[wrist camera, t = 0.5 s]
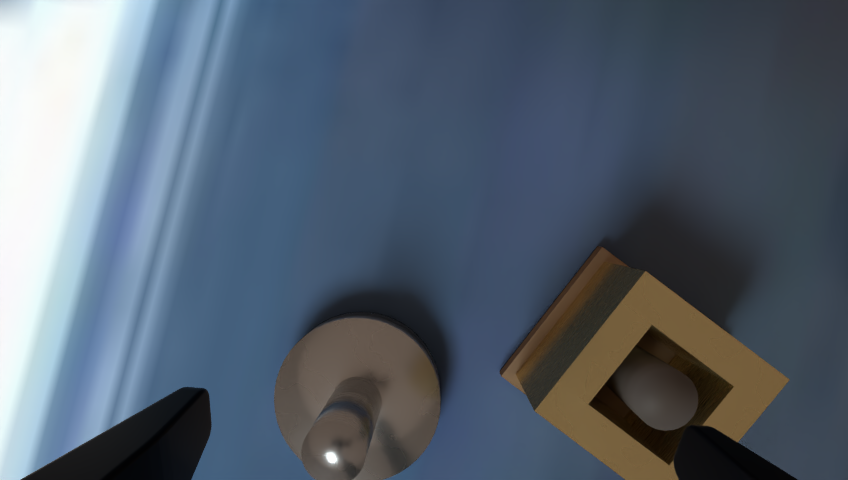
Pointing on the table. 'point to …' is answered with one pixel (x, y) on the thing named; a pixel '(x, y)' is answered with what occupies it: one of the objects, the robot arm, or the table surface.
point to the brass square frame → (611, 343)
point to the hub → (358, 398)
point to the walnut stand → (622, 365)
